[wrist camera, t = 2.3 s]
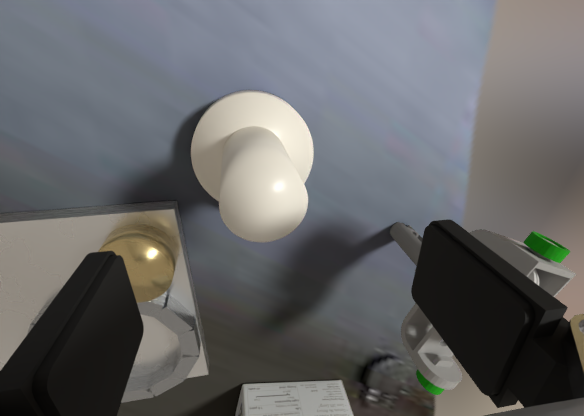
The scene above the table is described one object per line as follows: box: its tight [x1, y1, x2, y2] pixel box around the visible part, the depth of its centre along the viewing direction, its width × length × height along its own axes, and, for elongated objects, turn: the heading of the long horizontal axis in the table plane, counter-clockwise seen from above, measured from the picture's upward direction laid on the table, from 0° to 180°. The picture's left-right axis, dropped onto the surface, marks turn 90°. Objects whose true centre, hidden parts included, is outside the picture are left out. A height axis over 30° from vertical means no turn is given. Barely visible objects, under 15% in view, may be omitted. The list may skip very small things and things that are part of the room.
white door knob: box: [191, 90, 313, 242], centre depth 16 cm, size 7×7×8 cm
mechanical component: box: [390, 222, 576, 395], centre depth 19 cm, size 3×10×10 cm, turn 157°
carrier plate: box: [0, 200, 209, 403], centre depth 21 cm, size 16×14×3 cm
